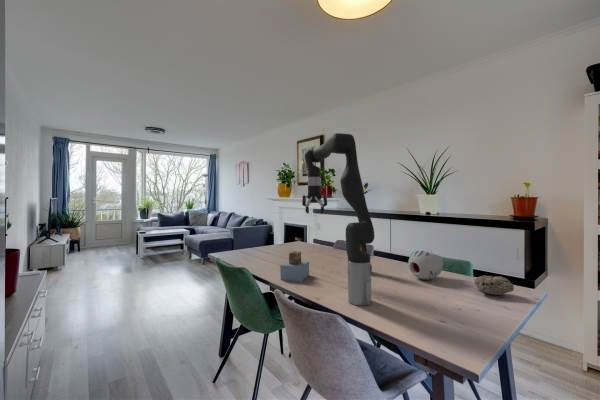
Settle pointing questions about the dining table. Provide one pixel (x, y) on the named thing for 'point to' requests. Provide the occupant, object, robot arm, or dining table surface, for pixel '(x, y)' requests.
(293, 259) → the walnut block
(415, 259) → the decorative object
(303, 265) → the slate-blue plinth
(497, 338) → the dining table surface
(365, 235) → the robot arm
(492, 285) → the pumice stone
